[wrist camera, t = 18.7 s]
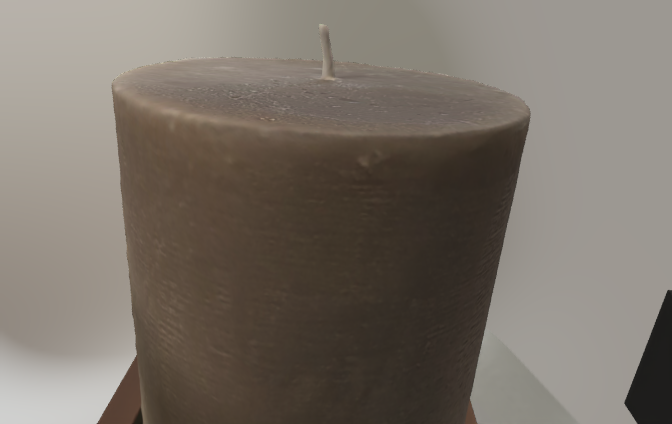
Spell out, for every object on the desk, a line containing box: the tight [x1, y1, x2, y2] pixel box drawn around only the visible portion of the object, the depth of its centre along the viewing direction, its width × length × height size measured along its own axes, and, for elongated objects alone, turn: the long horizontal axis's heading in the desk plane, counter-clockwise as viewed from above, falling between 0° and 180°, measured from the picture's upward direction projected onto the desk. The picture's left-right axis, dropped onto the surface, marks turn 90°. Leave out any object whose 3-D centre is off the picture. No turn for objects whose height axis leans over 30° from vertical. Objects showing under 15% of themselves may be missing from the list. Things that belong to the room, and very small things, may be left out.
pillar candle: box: [112, 24, 530, 424], centre depth 15 cm, size 10×10×15 cm
